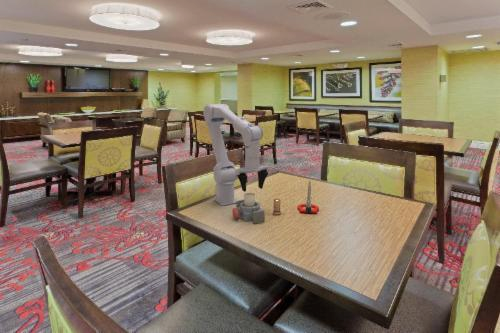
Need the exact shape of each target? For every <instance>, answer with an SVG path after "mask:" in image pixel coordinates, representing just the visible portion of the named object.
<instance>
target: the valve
mask: <svg viewBox="0 0 500 333" xmlns="http://www.w3.org/2000/svg"><path fill="white" fill-rule="evenodd" d="M235 204H236V207H233V208H232V211H231V212H232V217H233V218H234V220H238V219H239V218H240V219H242V220H243V221H245V222H251V221H252V224H254V225H256V224H260V223H264V222H265V220H266V219H265V216H266V215H265V214H266V213H265V212H266V211H265V210H264V209H263V208H261V203H259V202H258V201H255V206H256V207H244V199H240V200H237V201H236V203H235Z"/></svg>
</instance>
